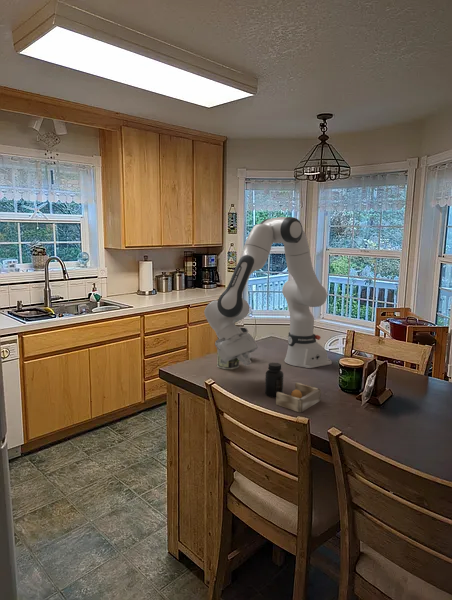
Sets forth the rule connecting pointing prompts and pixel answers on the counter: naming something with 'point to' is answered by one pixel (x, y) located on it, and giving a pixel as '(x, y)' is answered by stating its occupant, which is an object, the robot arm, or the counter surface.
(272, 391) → the supplement bottle
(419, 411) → the counter surface
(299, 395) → the ball
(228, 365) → the coffee can
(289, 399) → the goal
